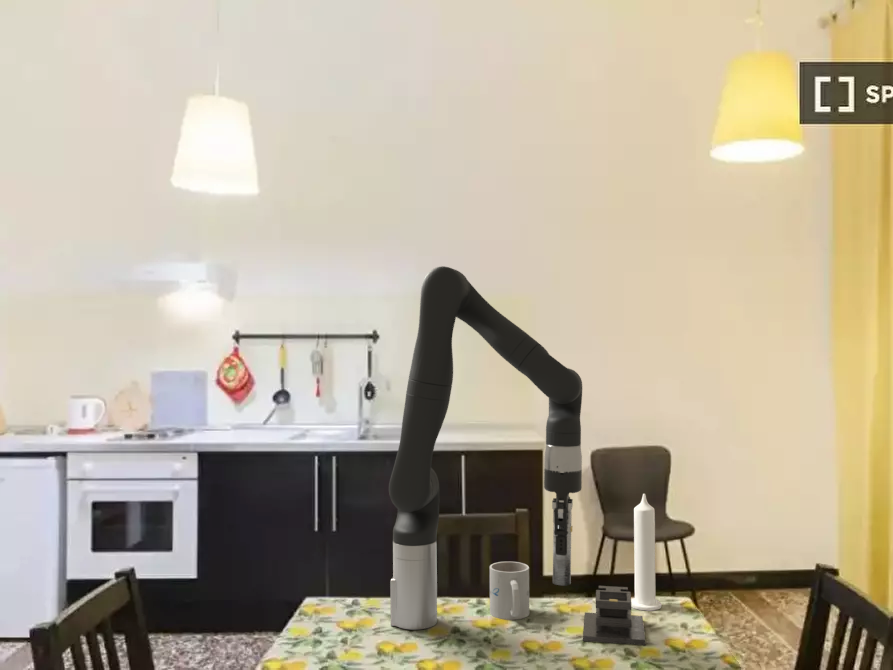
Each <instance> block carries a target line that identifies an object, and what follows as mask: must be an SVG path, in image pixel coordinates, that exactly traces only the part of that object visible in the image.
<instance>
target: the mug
mask: <svg viewBox="0 0 893 670" xmlns="http://www.w3.org/2000/svg"><path fill="white" fill-rule="evenodd" d="M489 614H490V616H492V617H494V618H497V619H499V620H510V621H511V620H521V619H524V618H527V617H529V616H530V567H529V565H528V564H526V563H524V562H519V561H498V562H494V563H492V564H490V565H489Z"/></svg>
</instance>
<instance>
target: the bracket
mask: <svg viewBox="0 0 893 670" xmlns="http://www.w3.org/2000/svg"><path fill="white" fill-rule="evenodd" d="M628 588H629V587H628V586H609V585H607V586H606V585H598V589H596V590H595V612H584V619H583V629H582V641H583V642H592V643H593V642H594V643H608V644H621V645H635V646H636V645H638V646H646V635H645V628H644V627H645V626H644V619H643V617H644V616H643V615H634V614H633V615H632V607H631V599H632V597H631V596H632V594H631V593H632V592H631V591H629V589H628Z"/></svg>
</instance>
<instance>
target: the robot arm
mask: <svg viewBox="0 0 893 670" xmlns="http://www.w3.org/2000/svg"><path fill="white" fill-rule="evenodd" d="M420 286H421V287H420V298H419V300H420V301H419V306H420V307H419V318H418V329H417V336H416V341H415V344H414V348H413V354H412V360H411V365H410V371H409V375H408V380H407V387H406V392H405V401H404V407H403V415H402V422H401V432H400V439H399V445H398V450H397V453H396V457H395V460H394V465H393V469H392V471H391V475H390V479H389V483H388V493H389V494H388V495H389V498H390V500H391V503H392V504H393V505H394V507H395V508H396V509H397V513H396V514H397V515H396V519H395V523H394V526H393V529H392V563H393V564H392V572H393V573H392V575H393V576H392V578H391V579H390V582H389V583H390V584H389V585H390V586H389V587H390V595H389V596H390V598H389V599H390V626H392V627H393V626H395V627H398V628H400V629H404V630H423V629H424V630H425V629H428V628H429V629H430V628H431V627H434V626H435V625H436V624H437V622H438V583H437V582H438V574H437V573H438V572H437V571H438V570H437V563H438V561H437V559H438V558H437V554H438V553H437V550H438V549H437V548H438V547H437V538H438V537H437V532H438V528H439V521H440V482H439V478H438V475H437V473H436V471H435V470H434V469H433V468H432V462H433V461H432V460H433V454H434V450H435V449H434V448H435V445H436V442H437V439H438V436H439V434H440V431H441V428H442V426H443V423H444V421H445V420H446V419H445V418H446V416H447V415H446V414H447V412H448V409H449V404H450V400H451V394H452V388H453V380H454V357H453V355H454V354H453V333H454V328H455V323H456V318H457V319H459V320H460V321H462V322H463V323H464V324H466V325H468V326H469V327H471V329H473V330H474V331H475V332H477V333H478V335H479V336H481V338H483V340H484V341H486V343H487V344H488V345H489V346H490V347H491V348H492V349H494V351H495V352H496V353H497V354H499V356H501V358H503V359H504V360H505V361H506V362H507V363H509V364H510V365H511V366H512V367H514V368H515V369H516V370H517V371H518V372H520V373H521V374H522V375H524V376H525V377H527V378H528V379H529V381H531V383H532V384H533V385H534V386H536V387H537V388H538V390H540V391H541V392H542V393H543V395H544V396H546V397H547V398H548V417H547V420H546V426H545V450H544V464H543V465H544V467H543V468H544V469H543V471H544V472H543V474H544V475H543V479H544V480H543V488H544V490H546V491H547V492H549V493H555V497H553V499H552V501H551V509H552V514H553V515H552V522H553V523H554V524H555V531H554V533H555V536H556V554H557V555H564V556H565V555H566V554H567V537H568V525H569V524H570V521H571V522H572V516H571V514H572V510H573V506H574V505H573V503H574V501H573V500H574V499H573V498H571V496H570V494H575V493H579V492H581V491H582V486H583V485H582V483H583V480H582V476H583V475H582V474H583V470H582V468H583V467H582V465H583V455H582V454H583V453H582V446H581V445H582V437H581V436H582V425H581V412H582V402H583V401H582V400H583V381H582V378H581V377H580V375H579V374H578V372H577V371H575V370H574V369H572V368H569V367H567V366H565V365H563V364H562V363H561V362H560V361H558V360H557V359H556V358H554V357H553V356H552V355H551V354H549V352H548V351H547V349H546V348H545V347H544V346H543V345H542V344H541V343H539V341H537V340H535V339H534V338H533V337H532V336H531V335H529V333H527V332H525V331H524V330H523V329H522V328H520V326H518V325H516V324H515V323H514V322H513V321H511V320H510V319H508V318H507V317H506V316H504V315H503V314H502V313H500V311H498V310H497V309H496V308H495V307H494V306H492V305H491V304H490V303H489V302H488V301H487V300H486V299H485V298H484V297H483V296H482V295H481V294H480V293H479V292H478V291H477V290H476V288H475V287H474V286H473V285H472V284H471V283H470V281H469V280H468V279H467V277H466V276H465V275H464V274H463V272H461V271H459V270H457V269H454V268H452V267H450V266H449V267H448V266H442V265H441V266H437V267H435V268H433V269H431V270H430V271H429V272H428V273H427V274H426V275H425V277H424V278H423V280H422V282H421V285H420ZM567 516H568V519H567ZM558 526H564V527H565V529H558Z"/></svg>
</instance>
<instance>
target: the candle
mask: <svg viewBox="0 0 893 670" xmlns="http://www.w3.org/2000/svg"><path fill="white" fill-rule="evenodd" d="M655 513H656V512H655V508H654V507H653V506H652V505H650V503H649V502H648V500H647V495H646V493H642V497H641V500H640V503H638V504H637V505H636V506H635V507H634V508H633V537H634V538H633V548H634V550H633V553H634V554H633V555H634V560H633V561H634V562H633V563H634V564H633V565H634V567H633V568H634V597H633V598H631V609H632V608H633V609H634V610H638V611H647V612H648V611H649V612H650V611H658V610H660V609H661V608H662V602H661V601H659V600H658V599H657V598H656V516H655V515H656V514H655Z"/></svg>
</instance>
